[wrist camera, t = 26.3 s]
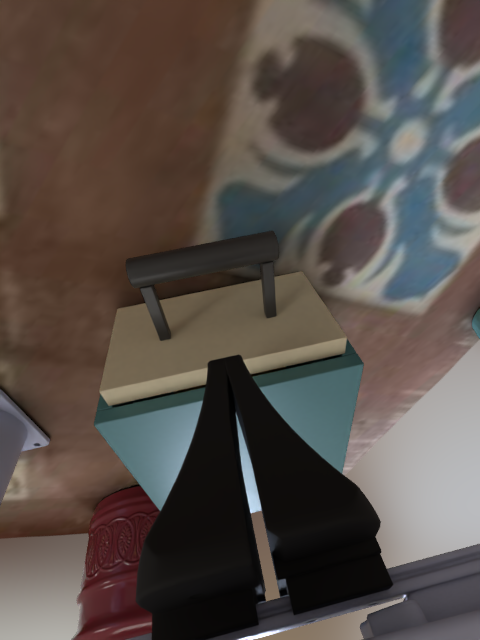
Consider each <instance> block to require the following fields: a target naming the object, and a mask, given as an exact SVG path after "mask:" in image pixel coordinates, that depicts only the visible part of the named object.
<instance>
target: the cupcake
mask: <svg viewBox="0 0 480 640" xmlns="http://www.w3.org/2000/svg"><path fill="white" fill-rule="evenodd" d="M472 327H473V329H474V331H475V332H476V334H477V336H478V337H479V339H480V309H479V310H478V311H477V312H476V314H475V315H474V318H473V320H472Z"/></svg>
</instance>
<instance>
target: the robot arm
mask: <svg viewBox="0 0 480 640" xmlns="http://www.w3.org/2000/svg"><path fill="white" fill-rule="evenodd" d="M236 414H237V417H238V420H239V424H240V427H241V430H242V434H243V437H244V440H245V443H246V447H247V450H248V453H249V457H250V460H251V464H252V468H253V472H254V476H255V481H256V486H257V490H258V495H259V500H260V504H261V509H262V513H263V518H264V523H265V528H266V532H267V537H268V542H269V547H270V551H271V556H272V561H273V565H274V570H275V575H276V579H277V584H278V588H279V593H280V598H278V599H274V600H270V601H267V602H266V599H265V591H266V590H265V585H264V580H263V575H262V569H261V564H260V559H259V554H258V550H257V544H256V539H255V534H254V530H253V524H252V518H251V513H250V508H249V503H248V498H247V493H246V487H245V482H244V477H243V471H242V464H241V456H240V446H239V437H238V427H237V418H236ZM49 442H50V439H49V438H48V437H47V436H46V435H45V433H44V432H43V431H42V430H41V429H40V428H39V427H38V426H37V425H36V424H35V423H34V422H33V421H32V420H31V419H30V418H29V417H28V416H27V415H26V414H25V413H24V412H23V411H22V410H21V409H20V408H19V407H18V406H17V405H16V404H15V403H14V402H13V401H12V400H11V399H10V398H9V397H8V396H7V395H6V394H5V393H4V392H3V391H2V390H1V389H0V505H1V502H2V500H3V497H4V495H5V492H6V489H7V487H8V484H9V482H10V479H11V477H12V474H13V472H14V469H15V466H16V464H17V461H18V459H19V456H20V454H21V451H26V450H30V449H35V448H39V447H43V446H47V445H48V444H49ZM380 523H381V522H380V519H379V517H378V515H377V514H376V512H375V510H374V508H373V507H372V505H371V504H370V502H369V501H368V499H367V498H366V496H365V495H364V494H363V492H362V491H361V490H360V488H359V487H358V486H357V485H356V484H355V483H353V482H352V481H351V480H349V479H348V478H347V477H345V476H344V475H343V474H342V473H340V472H339V471H338V470H337V469H335V468H334V467H333V466H332V465H331V464H329V463H328V462H327V461H326V460H325V459H324V458H322V457H321V456H320V455H319V454H318V453H317V452H316V451H315V450H314V449H313V448H312V447H310V446H309V445H308V444H307V443H306V442H305V441H304V440H303V439H302V438H301V437H300V436H299V435H298V434H297V433H296V432H295V431H294V430H293V429H292V428H291V427H290V426H289V424H288V423H287V422H286V421H285V420H284V419H283V418H282V417H281V416H280V414H279V413H278V412H277V411H276V410H275V408H274V407H273V406H272V405H271V403H270V402H269V401H268V399H267V398H266V397H265V395H264V394H263V393H262V391H261V390H260V388H259V387H258V385H257V384H256V382H255V381H254V379H253V378H252V376H251V374H250V373H249V371H248V369H247V367H246V365H245V363H244V361H243V358H242V356H241V355H234V356H229V357H225V358H220V359H216V360H211V361H209V362H208V370H207V381H206V387H205V393H204V397H203V402H202V407H201V411H200V414H199V418H198V422H197V425H196V429H195V432H194V435H193V438H192V441H191V444H190V446H189V449H188V452H187V454H186V457H185V459H184V462H183V464H182V467H181V469H180V472H179V474H178V476H177V478H176V480H175V483H174V485H173V487H172V489H171V491H170V493H169V495H168V497H167V499H166V501H165V503H164V505H163V507H162V509H161V511H160V513H159V514H158V516H157V518H156V520H155V522H154V523H153V525H152V527H151V529H150V531H149V532H148V534H147V536H146V538H145V540H144V544H143V547H142V551H141V556H140V561H139V566H138V572H137V586H136V603H137V604H138V605H139V606H140V607H141V608H143V609H145V610H147V611H149V612H151V613H152V633H148V634H145V635H141V636H137V637H134V638H130V639H126V640H253V639H257V638H260V637H264V636H268V635H271V634H275V633H278V632H282V631H286V630H289V629H293V628H296V627H300V626H304V625H307V624H311V623H314V622H318V621H322V620H325V619H329V618H332V617H336V616H340V615H343V614H347V613H350V612H354V611H358V610H361V609H365V608H368V607H372V606H376V605H379V604H383V603H386V602H390V601H393V600H397V599H400V598H404V597H405V599H404V601H403V602H401V603H398V604H395V605H392V606H389V607H387V608H384V609H381V610H379V611H376V612H373V613H371V614H368V616H367V620H366V621H365V622H363V623H361V625H360V629H361V632H362V635H363V638H364V639H363V640H480V544H477V545H473V546H470V547H466V548H463V549H459V550H455V551H452V552H448V553H444V554H440V555H436V556H433V557H429V558H426V559H422V560H418V561H415V562H411V563H407V564H404V565H400V566H396V567H392V568H389V569H386V566H385V564H384V562H383V560H382V557H381V555H380V553H381V549H380V547H379V544H378V542H377V540H376V538H375V536H376V534H377V532H378V530H379V528H380Z"/></svg>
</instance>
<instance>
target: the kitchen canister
mask: <svg viewBox="0 0 480 640" xmlns="http://www.w3.org/2000/svg"><path fill="white" fill-rule="evenodd" d="M159 513H160V510H159V509H158V508H157V506H156V505H155V504H154V503H153V501H152V500H151V499H150V497H149V496H148V495H147V493H146V492H145V491H144V490H143V488H142V487H141V486H137V487H132V488H128V489H125V490H121V491H119V492H116V493H114V494H112V495H110V496H108V497H106V498H105V499H103V500H102V501H101V502H100V503H99V504H98V505H97V506H96V508H95V511H94V515H93V517H92V519H91V521H90V528H89V531H88V534H89V541H88V547H87V553H86V559H85V565H84V571H83V576H82V582H81V588H80V593H79V594H78V596H77V604H78V606H79V607H80V614H79V624H78V629H77V632H76V634H75V636H74V637H73V638H72V639H71V640H126V639H130V638H134V637H137V636H141V635H145V634H148V633H152V613H151V612H149V611H147V610H145V609H143V608H141V607H140V606H139V605H138V604H137V603H136V586H137V572H138V566H139V561H140V556H141V551H142V547H143V544H144V540H145V538H146V536H147V534H148V532H149V531H150V529H151V527H152V525H153V523H154V522H155V520H156V518H157V516H158V514H159Z"/></svg>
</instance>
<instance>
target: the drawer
mask: <svg viewBox="0 0 480 640" xmlns="http://www.w3.org/2000/svg"><path fill="white" fill-rule="evenodd" d="M278 258H279V246H278V241H277V237H276V235H275V233H274V231H268V232H263V233H258V234H253V235H247V236H242V237H237V238H232V239H227V240H222V241H216V242H211V243H206V244H201V245H196V246H191V247H186V248H180V249H175V250H170V251H165V252H160V253H155V254H150V255H144V256H139V257H134V258H129V259H127V260H126V271H127V275H128V278H129V281H130V283H131V285H132V286H133V287H134V288H140V291H141V293H142V296H143V298H144V301H145V303H144V304H139V305H134V306H129V307H124V308H119V309H117V313H116V318H115V322H114V327H113V331H112V336H111V340H110V345H109V349H108V354H107V359H106V363H105V368H104V372H103V377H102V381H101V386H100V390H99V392H100V394H101V395H102V397H103V398H104V400H105V401H106V403H107V404H108V406H111V405H116V404H120V403H125V402H129V401H134V403H137V402H141V401H146V400H150V399H155V398H159V397H164V396H168V395H173V394H174V391H178V390H183V389H187V388H192V387H196V386H201V385H205V384H206V381H207V370H208V362H209V361H211V360H216V359H220V358H225V357H229V356H234V355H241V356H242V358H243V361H244V363H245V365H246V367H247V369H248V371H249V373H250V374H255V373H259V372H264V371H268V370H273V369H277V368H282V367H286V369H289V368H293V367H298V366H302V365H307V364H311V363H316V362H320V361H323V359H322V358H326V357H331V356H335V355H340V354H344V353H345V348H346V341H347V336H346V335H345V334H344V332H343V331H342V329H341V328H340V326H339V325H338V323H337V322H336V320H335V319H334V317H333V316H332V314H331V313H330V312H329V310H328V309H327V307H326V306H325V304H324V303H323V301H322V300H321V298H320V297H319V295H318V294H317V292H316V291H315V289H314V288H313V287H312V285H311V284H310V282H309V281H308V279H307V278H306V276H305V275H304V273H303V272H302V271H301V272H296V273H291V274H286V275H281V276H276V277H274V263H273V261H274V260H277V259H278ZM259 263H260V272H261V280H256V281H252V282H247V283H242V284H237V285H232V286H227V287H222V288H217V289H212V290H207V291H202V292H198V293H193V294H188V295H183V296H178V297H173V298H168V299H163V300H159V298H158V295H157V292H156V289H155V286H154V285H155V284H160V283H165V282H170V281H175V280H180V279H185V278H190V277H195V276H200V275H205V274H210V273H215V272H219V271H224V270H229V269H234V268H239V267H244V266H249V265H254V264H259Z"/></svg>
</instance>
